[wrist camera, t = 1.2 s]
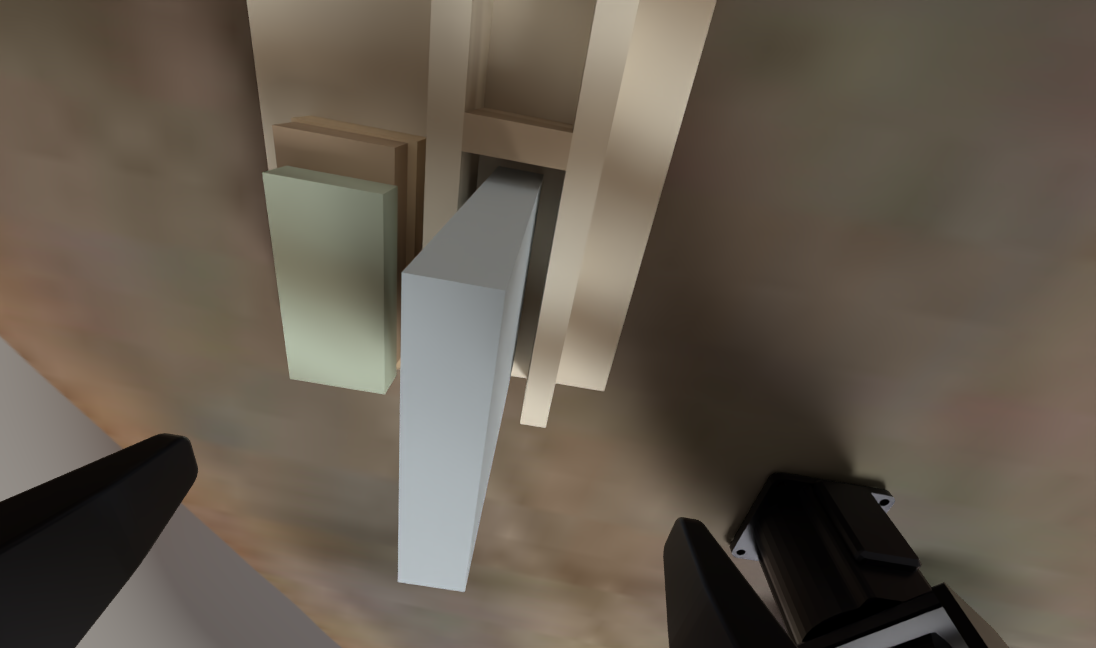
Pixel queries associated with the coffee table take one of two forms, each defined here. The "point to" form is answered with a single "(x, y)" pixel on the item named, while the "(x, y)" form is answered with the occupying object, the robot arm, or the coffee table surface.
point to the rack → (511, 132)
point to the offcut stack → (344, 246)
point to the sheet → (459, 372)
